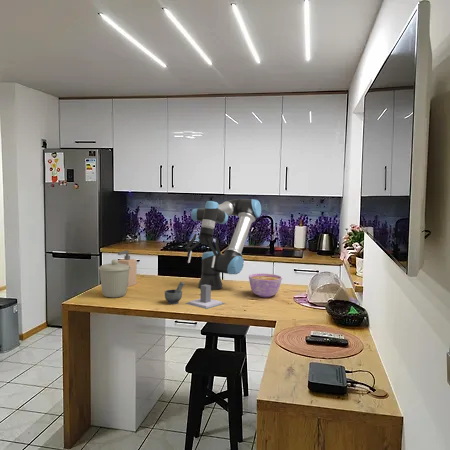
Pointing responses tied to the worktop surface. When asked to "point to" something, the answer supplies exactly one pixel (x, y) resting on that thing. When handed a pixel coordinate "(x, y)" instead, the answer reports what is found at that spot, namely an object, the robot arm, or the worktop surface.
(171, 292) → the mortar and pestle
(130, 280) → the soap dispenser
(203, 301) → the cover board
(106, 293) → the canister
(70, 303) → the worktop surface
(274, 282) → the bowl of food
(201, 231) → the robot arm
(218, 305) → the mat
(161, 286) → the worktop surface
